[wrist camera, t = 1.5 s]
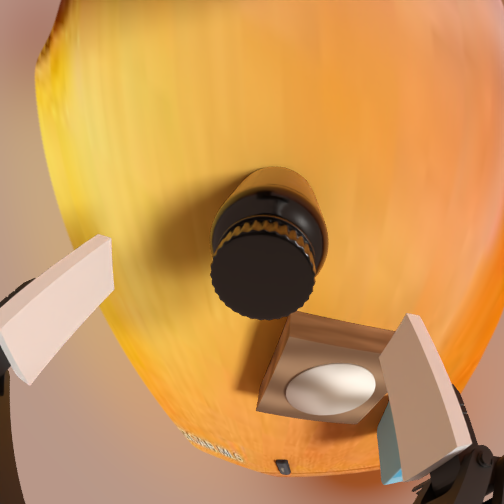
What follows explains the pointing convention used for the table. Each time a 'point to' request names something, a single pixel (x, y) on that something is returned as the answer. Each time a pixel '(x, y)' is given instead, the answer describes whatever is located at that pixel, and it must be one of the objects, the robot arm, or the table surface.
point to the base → (325, 370)
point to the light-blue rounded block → (388, 449)
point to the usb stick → (283, 466)
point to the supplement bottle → (268, 244)
